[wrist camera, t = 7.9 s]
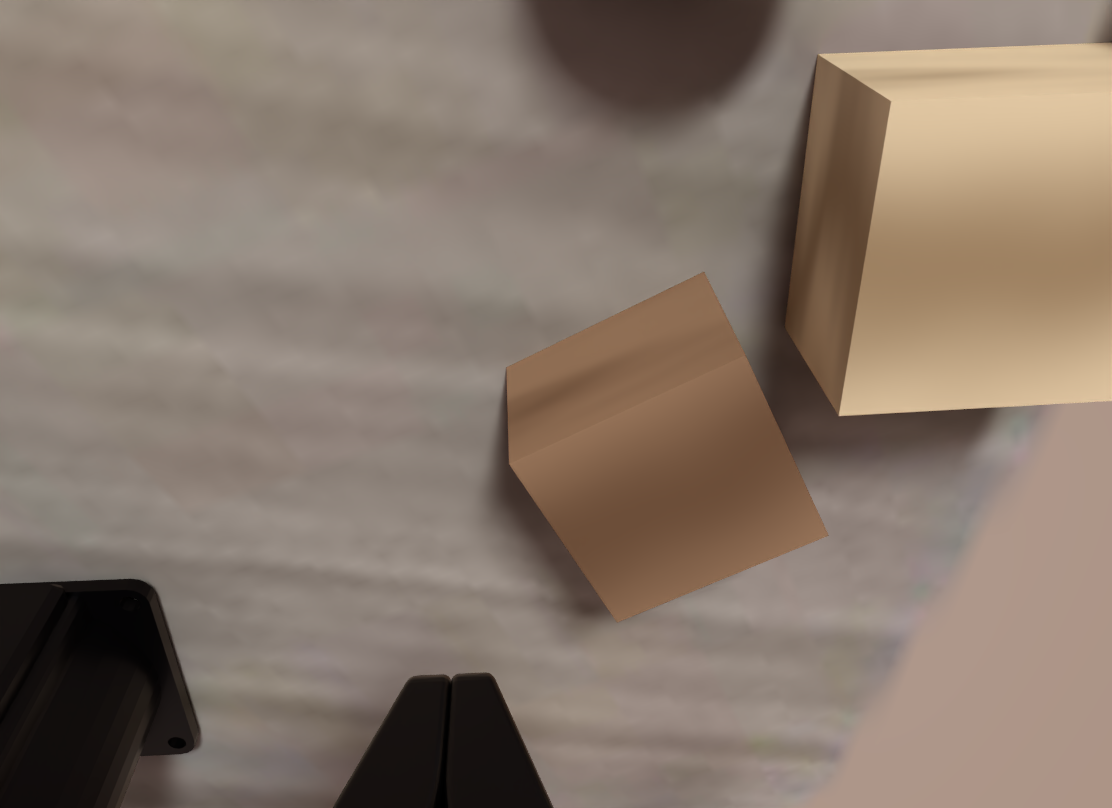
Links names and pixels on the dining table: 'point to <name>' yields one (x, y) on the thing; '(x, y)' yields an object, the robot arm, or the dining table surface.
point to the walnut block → (656, 452)
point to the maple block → (957, 229)
